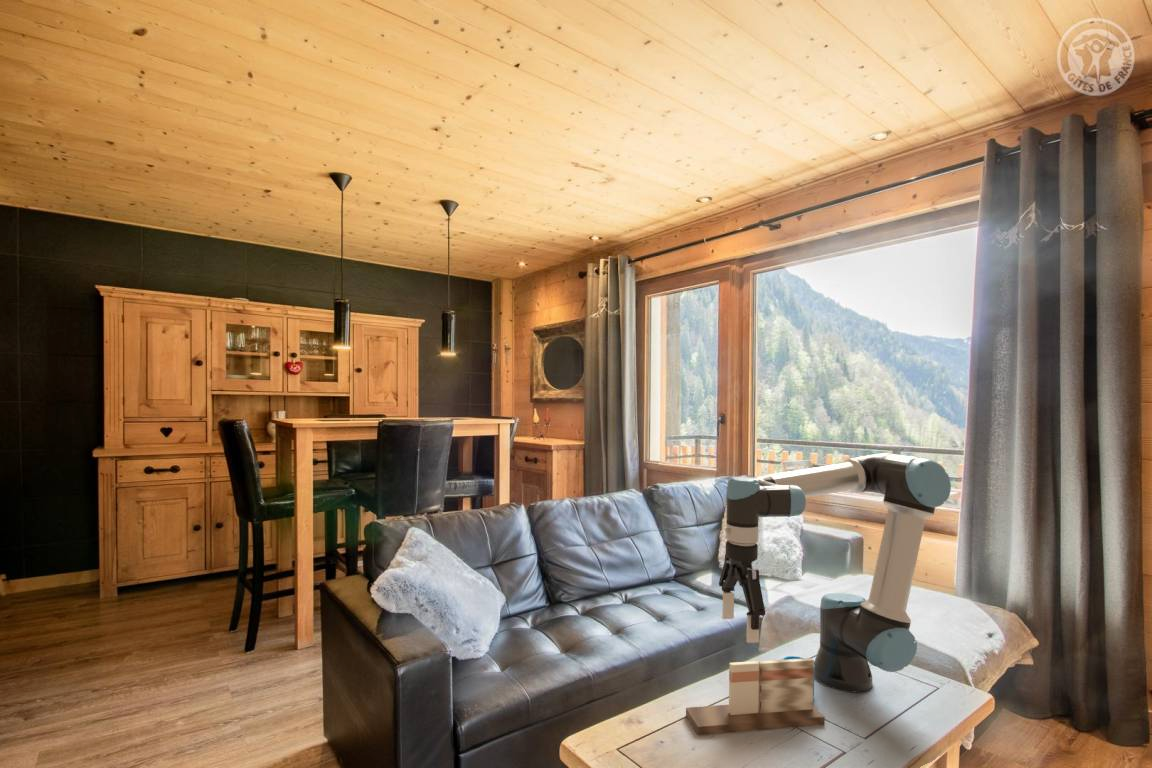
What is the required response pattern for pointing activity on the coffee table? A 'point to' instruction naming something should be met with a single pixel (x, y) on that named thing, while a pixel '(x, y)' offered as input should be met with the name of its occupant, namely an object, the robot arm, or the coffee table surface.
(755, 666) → the stub
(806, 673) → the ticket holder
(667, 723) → the coffee table surface
